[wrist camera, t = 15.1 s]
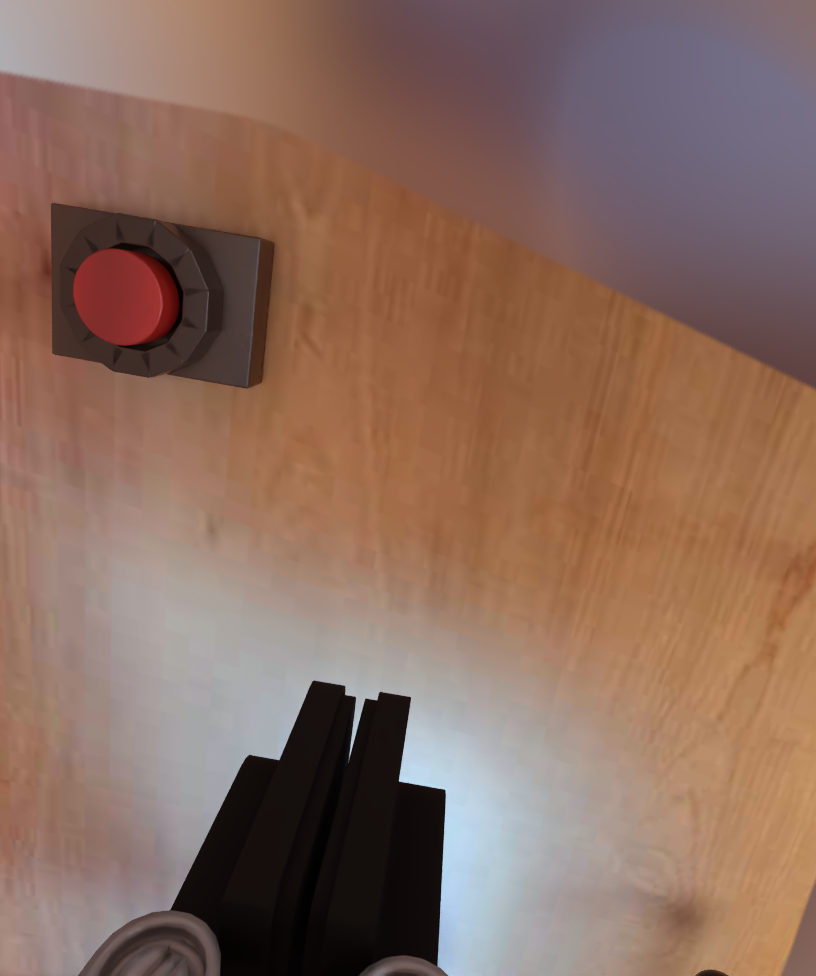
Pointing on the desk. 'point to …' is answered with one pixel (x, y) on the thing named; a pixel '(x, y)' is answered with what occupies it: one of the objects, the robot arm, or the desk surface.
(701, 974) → the ball knob lever
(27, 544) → the desk surface
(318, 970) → the robot arm
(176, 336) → the button housing
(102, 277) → the button
